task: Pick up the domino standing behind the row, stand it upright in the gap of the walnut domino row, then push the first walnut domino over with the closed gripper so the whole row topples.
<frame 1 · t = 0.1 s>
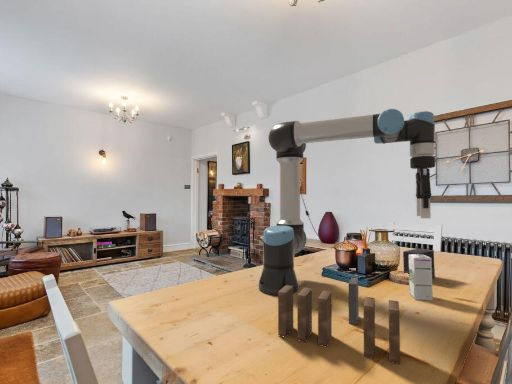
hand: (423, 217, 96), 28 cm above the table, tool pointing down, fingers open, 13 cm apart
domino 2: (305, 335, 69), on the table
domino 1: (286, 331, 71), on the table
syrup box: (420, 298, 96), on the table
small box: (419, 278, 119), on the table
domino 6: (394, 355, 60), on the table
domino 3: (325, 340, 67), on the table
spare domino: (353, 319, 78), on the table
domino 5: (369, 350, 62), on the table
packaged product: (357, 275, 125), on the table
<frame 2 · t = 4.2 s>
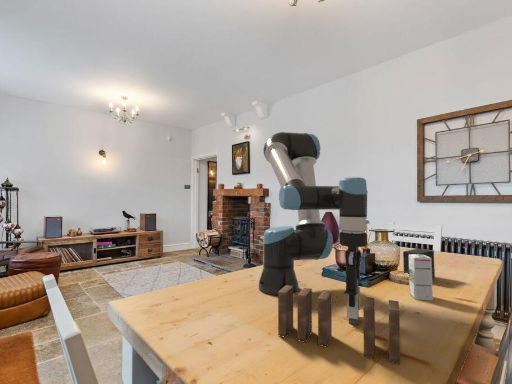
hand: (353, 313, 78), 2 cm above the table, tool pointing down, fingers closed on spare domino, 6 cm apart
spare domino: (353, 319, 78), on the table, touching gripper
when the fingers open (3 cm above the table, at t = 10.4 s): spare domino stays where it is, on the table.
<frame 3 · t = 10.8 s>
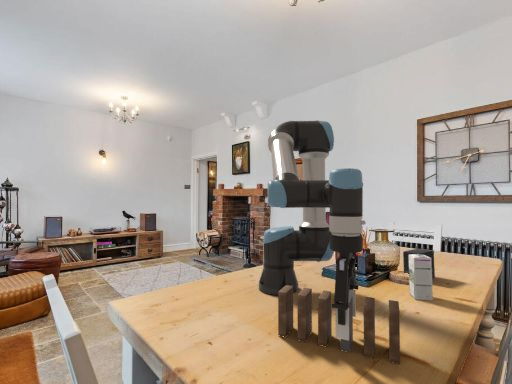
hand: (346, 326, 64), 4 cm above the table, tool pointing down, fingers open, 12 cm apart
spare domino: (346, 345, 64), on the table
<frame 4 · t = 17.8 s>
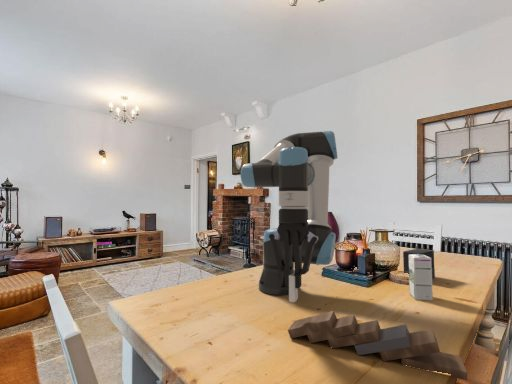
hand: (293, 300, 70), 8 cm above the table, tool pointing down, fingers closed
domino 2: (311, 333, 68), point 1 cm above the table, tilted 67°, touching domino 1, domino 3
domino 1: (292, 329, 70), point 1 cm above the table, tilted 67°, touching domino 2
domino 6: (401, 355, 59), on the table, tilted 90°, touching domino 5
domino 3: (332, 338, 66), point 1 cm above the table, tilted 68°, touching domino 2, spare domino
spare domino: (358, 344, 63), point 1 cm above the table, tilted 66°, touching domino 3, domino 5
domino 5: (382, 349, 61), point 1 cm above the table, tilted 67°, touching domino 6, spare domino
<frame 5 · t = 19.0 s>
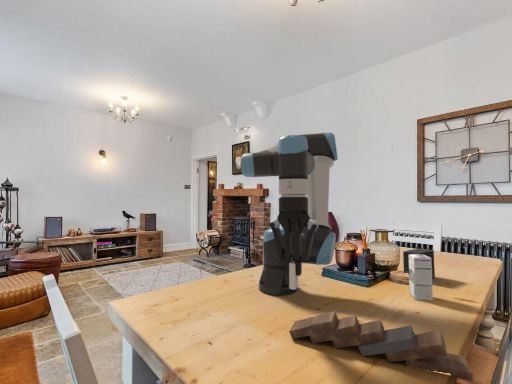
hand: (293, 287, 71), 11 cm above the table, tool pointing down, fingers closed
domino 2: (313, 334, 68), point 1 cm above the table, tilted 68°, touching domino 1
domino 6: (405, 356, 59), on the table, tilted 90°
domino 3: (335, 338, 66), point 1 cm above the table, tilted 68°
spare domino: (362, 344, 63), point 1 cm above the table, tilted 67°, touching domino 5
domino 5: (387, 350, 60), point 1 cm above the table, tilted 67°, touching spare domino
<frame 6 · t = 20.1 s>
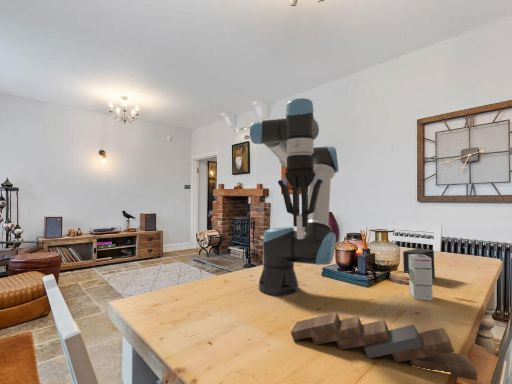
hand: (300, 238, 78), 23 cm above the table, tool pointing down, fingers closed
domino 6: (409, 355, 59), point 1 cm above the table, tilted 90°, touching domino 5
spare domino: (367, 346, 62), point 1 cm above the table, tilted 65°, touching domino 5
domino 5: (393, 350, 60), point 1 cm above the table, tilted 65°, touching domino 6, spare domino
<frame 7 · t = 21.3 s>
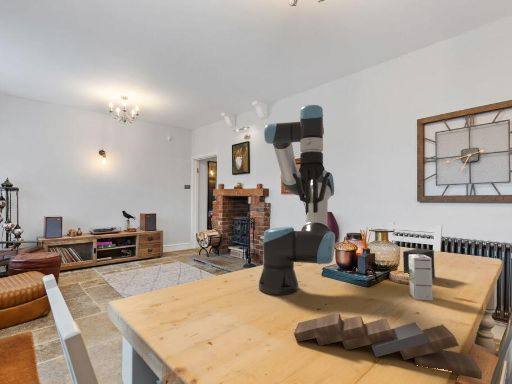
hand: (311, 222, 92), 26 cm above the table, tool pointing down, fingers closed
domino 2: (318, 335, 67), point 1 cm above the table, tilted 69°, touching domino 1, domino 3
domino 6: (413, 355, 59), on the table, tilted 90°, touching domino 5
domino 3: (343, 339, 65), point 1 cm above the table, tilted 68°, touching domino 2, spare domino
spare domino: (371, 346, 62), point 1 cm above the table, tilted 67°, touching domino 3, domino 5
domino 5: (398, 348, 61), point 1 cm above the table, tilted 67°, touching domino 6, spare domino
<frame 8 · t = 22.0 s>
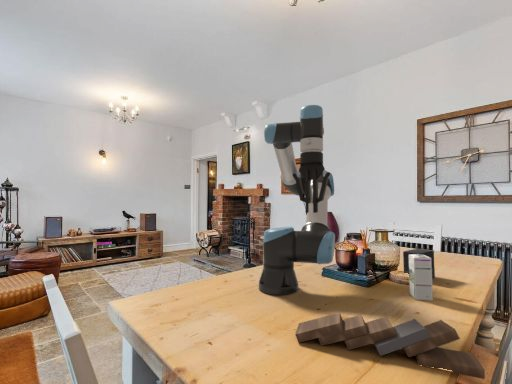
hand: (311, 222, 92), 26 cm above the table, tool pointing down, fingers closed
domino 1: (298, 332, 68), point 1 cm above the table, tilted 68°, touching domino 2
at the end: domino 6 tilted 90°; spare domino tilted 67°; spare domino inside the target area (4.2 cm from its centre), point 1.2 cm above the table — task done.
